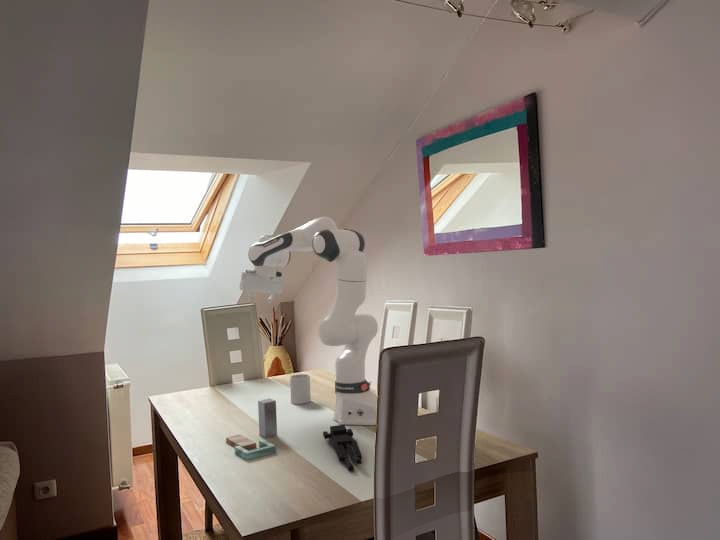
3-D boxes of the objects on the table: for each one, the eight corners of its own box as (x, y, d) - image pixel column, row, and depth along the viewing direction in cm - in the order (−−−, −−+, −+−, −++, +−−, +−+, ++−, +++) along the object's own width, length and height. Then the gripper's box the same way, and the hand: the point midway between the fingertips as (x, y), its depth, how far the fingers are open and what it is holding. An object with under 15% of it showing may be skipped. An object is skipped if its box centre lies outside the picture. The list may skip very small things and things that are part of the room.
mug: (313, 402, 231) (312, 377, 230) (293, 405, 228) (292, 379, 228) (306, 396, 242) (305, 372, 242) (287, 398, 239) (286, 374, 239)
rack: (219, 443, 182) (219, 437, 182) (246, 437, 188) (246, 431, 188) (247, 460, 166) (246, 453, 166) (275, 452, 172) (275, 445, 172)
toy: (372, 474, 155) (351, 437, 184) (371, 457, 154) (350, 423, 184) (339, 478, 153) (323, 440, 182) (338, 461, 152) (322, 426, 182)
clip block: (259, 434, 190) (258, 400, 190) (270, 432, 193) (269, 398, 193) (265, 438, 187) (264, 403, 186) (277, 435, 189) (275, 400, 189)
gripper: (245, 270, 233) (241, 302, 234) (287, 274, 246) (282, 304, 247) (239, 268, 238) (235, 299, 239) (280, 272, 251) (276, 301, 252)
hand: (259, 302), depth 243 cm, fingers open, 8 cm apart
